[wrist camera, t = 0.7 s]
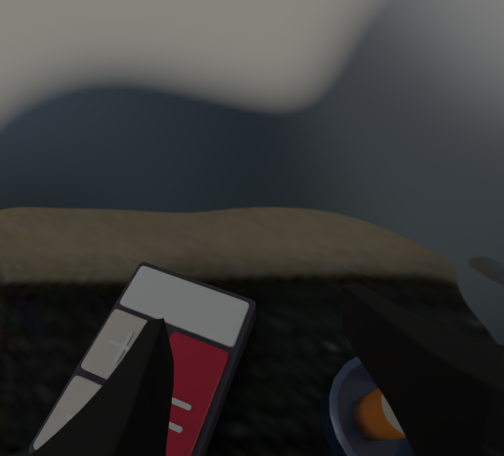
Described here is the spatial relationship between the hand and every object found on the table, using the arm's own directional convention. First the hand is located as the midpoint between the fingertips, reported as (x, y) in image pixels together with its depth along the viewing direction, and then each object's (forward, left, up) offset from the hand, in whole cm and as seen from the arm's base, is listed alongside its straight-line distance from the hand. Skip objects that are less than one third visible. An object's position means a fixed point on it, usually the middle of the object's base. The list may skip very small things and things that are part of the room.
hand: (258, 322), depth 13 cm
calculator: (+4, +6, -17) cm, 18 cm away
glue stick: (-6, -7, -16) cm, 18 cm away
